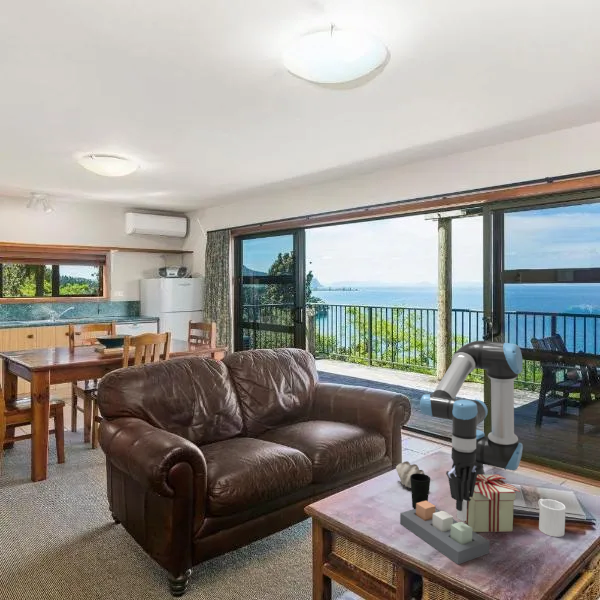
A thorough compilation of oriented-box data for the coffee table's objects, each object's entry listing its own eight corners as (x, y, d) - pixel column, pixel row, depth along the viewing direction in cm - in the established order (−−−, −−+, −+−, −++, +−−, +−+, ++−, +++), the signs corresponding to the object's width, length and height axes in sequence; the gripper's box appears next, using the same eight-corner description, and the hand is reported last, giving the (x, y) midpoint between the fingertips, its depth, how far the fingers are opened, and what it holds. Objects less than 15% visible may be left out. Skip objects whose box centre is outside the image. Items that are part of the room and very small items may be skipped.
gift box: (479, 539, 167) (481, 490, 166) (454, 513, 185) (455, 469, 184) (524, 535, 169) (526, 487, 168) (495, 510, 188) (496, 466, 187)
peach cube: (425, 513, 178) (426, 500, 178) (435, 519, 174) (435, 506, 173) (415, 516, 176) (416, 503, 175) (425, 522, 171) (425, 508, 171)
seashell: (413, 479, 216) (414, 457, 215) (431, 493, 201) (431, 470, 201) (392, 481, 213) (393, 459, 212) (408, 496, 199) (409, 472, 198)
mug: (548, 519, 181) (549, 493, 180) (569, 536, 169) (570, 509, 168) (527, 520, 180) (528, 494, 179) (548, 537, 168) (549, 510, 167)
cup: (430, 513, 185) (431, 482, 184) (409, 510, 186) (410, 480, 186) (429, 503, 192) (429, 474, 192) (409, 501, 194) (410, 472, 193)
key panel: (429, 515, 183) (429, 504, 183) (489, 553, 158) (489, 541, 158) (400, 523, 176) (400, 512, 176) (457, 564, 152) (458, 552, 151)
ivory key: (442, 524, 170) (443, 510, 170) (452, 530, 166) (453, 516, 166) (432, 527, 168) (432, 513, 168) (442, 534, 164) (442, 519, 164)
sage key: (460, 535, 163) (461, 521, 163) (472, 542, 159) (472, 528, 158) (450, 539, 161) (450, 524, 160) (461, 546, 156) (461, 531, 156)
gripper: (469, 442, 164) (467, 510, 165) (440, 447, 158) (438, 518, 159) (487, 449, 158) (484, 519, 159) (457, 455, 152) (455, 528, 153)
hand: (461, 519), depth 159 cm, fingers closed
